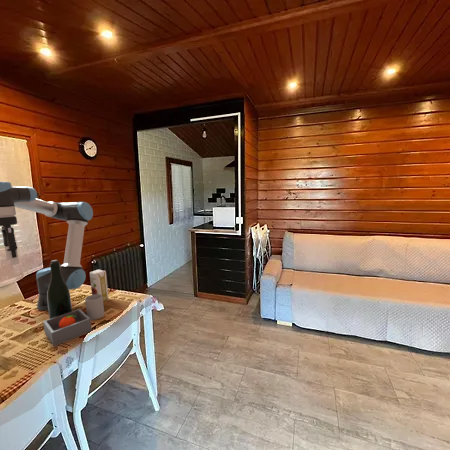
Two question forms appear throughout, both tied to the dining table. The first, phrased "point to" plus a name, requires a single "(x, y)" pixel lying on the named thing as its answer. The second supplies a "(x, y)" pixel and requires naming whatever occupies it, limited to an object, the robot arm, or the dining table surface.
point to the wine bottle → (58, 293)
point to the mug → (94, 306)
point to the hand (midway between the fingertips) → (12, 262)
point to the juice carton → (99, 283)
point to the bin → (67, 327)
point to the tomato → (66, 321)
